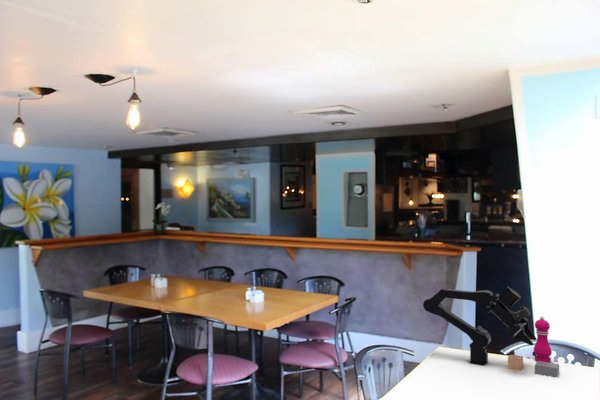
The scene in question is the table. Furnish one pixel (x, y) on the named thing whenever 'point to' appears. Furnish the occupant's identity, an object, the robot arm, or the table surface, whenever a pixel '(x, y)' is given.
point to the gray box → (547, 369)
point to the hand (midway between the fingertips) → (534, 342)
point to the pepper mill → (542, 341)
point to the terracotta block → (515, 362)
